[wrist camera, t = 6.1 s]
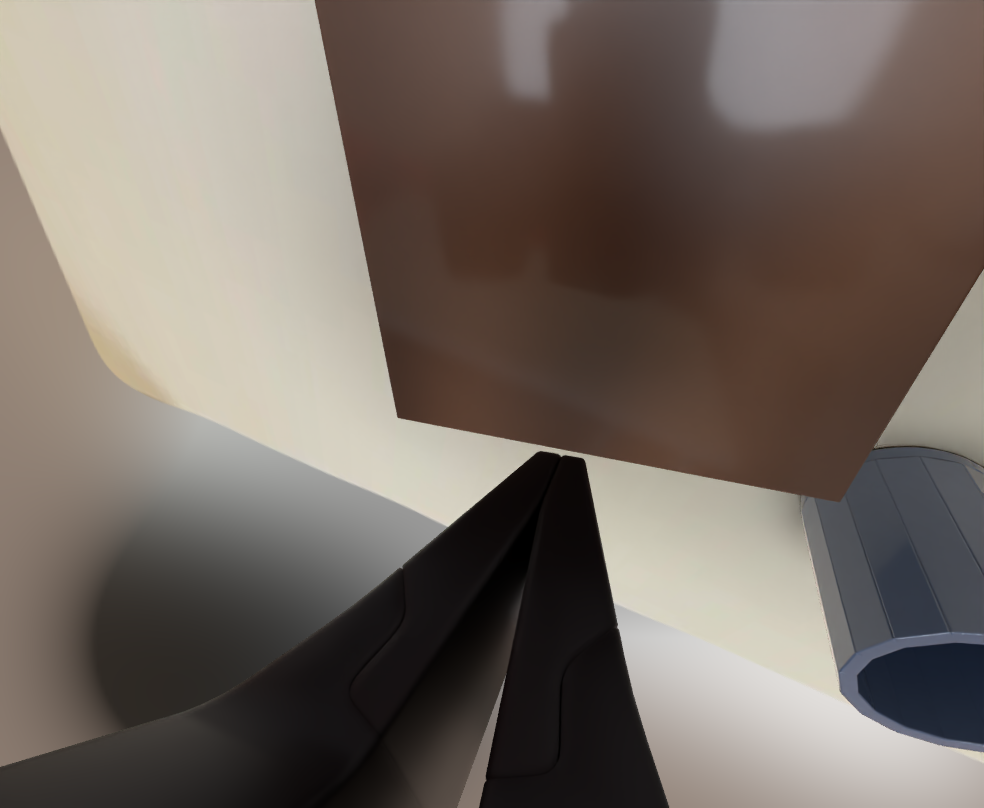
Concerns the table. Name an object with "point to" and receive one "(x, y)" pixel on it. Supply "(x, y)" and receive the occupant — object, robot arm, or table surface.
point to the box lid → (665, 218)
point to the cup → (906, 592)
